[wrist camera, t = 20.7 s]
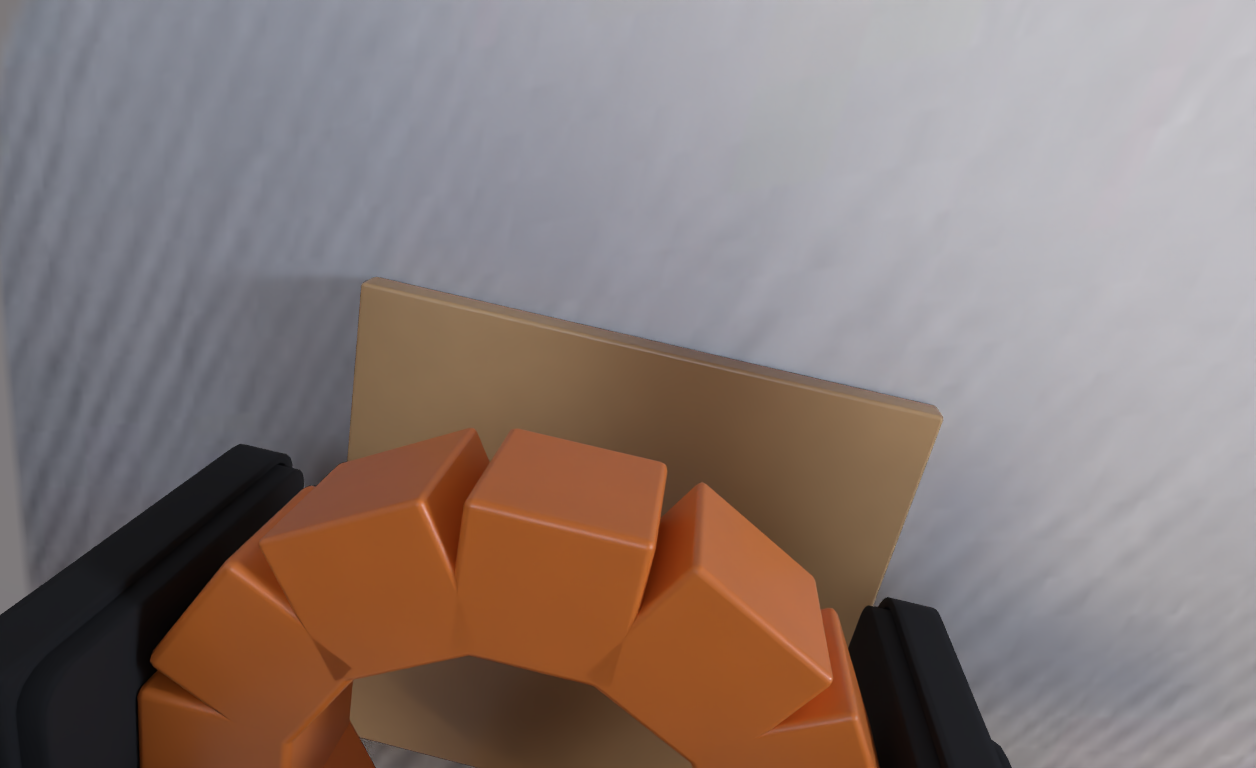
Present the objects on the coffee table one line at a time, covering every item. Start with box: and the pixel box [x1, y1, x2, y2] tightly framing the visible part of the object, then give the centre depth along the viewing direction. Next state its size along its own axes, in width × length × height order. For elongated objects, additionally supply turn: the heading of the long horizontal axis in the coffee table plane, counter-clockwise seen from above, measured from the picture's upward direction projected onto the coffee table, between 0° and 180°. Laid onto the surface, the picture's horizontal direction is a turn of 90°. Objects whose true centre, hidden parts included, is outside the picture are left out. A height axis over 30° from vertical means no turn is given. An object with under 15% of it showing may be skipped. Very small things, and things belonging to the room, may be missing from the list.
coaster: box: [347, 277, 943, 768], centre depth 11 cm, size 7×7×1 cm
